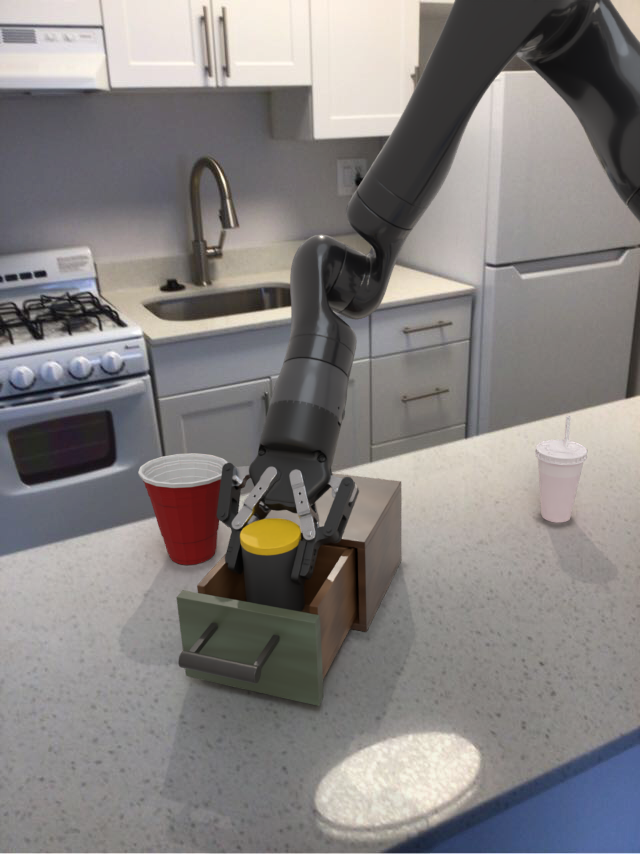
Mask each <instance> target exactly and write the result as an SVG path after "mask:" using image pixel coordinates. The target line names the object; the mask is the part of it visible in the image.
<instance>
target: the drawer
mask: <svg viewBox="0 0 640 854" xmlns="http://www.w3.org/2000/svg"><path fill="white" fill-rule="evenodd" d="M301 541H303V540H301ZM225 555H226V553H225V554H224V555H223V556H222V557H221V558H220V559H219V561H217V563H216V564H215V565H213V567H212V568H211V570H210V571H208V573H206V575H205V576H204V577H203V578H202V579H201V580H200V582H199V583H198V584H197V585H196V589H197V591H189V590H184V589H182V591H181V592H179V593H178V595H177V596H176V604H177V605H176V606H177V613H178V621H179V630H180V637H181V645H182V651H181V652H180V653H179V657H178V663H177V664H178V667H179V668H181V669H184V670H185V676H186V677H188V678H193V679H197V680H202V681H206V682H209V683H215V684H219V685H224V686H228V687H233V688H237V689H241V690H246V691H250V692H255V693H259V694H264V695H269V696H273V697H277V698H282V699H287V700H291V701H295V702H298V703H299V702H300V703H304V704H308V705H313V706H317V707H319V706H320V705H321V704H322V702H323V699H324V679H325V677H326V675H327V673H328V671H329V670H330V668H331V665H332V663H333V661H335V658H336V656H337V654H338V653H339V650H340V649H341V646H342V645H343V642H344V641H345V639H346V637H347V635H348V633H349V631H350V630H351V629H350V627H351V626H352V624H353V622H354V620H355V618H356V616H357V604H356V562H355V548H354V547H348V546H341V545H334V544H328V543H325V544H323V545H321V546H320V547H319V549H318V553H317V557H316V562H315V566H314V571H313V575H312V577H311V578H310V580H307V579H306V580H305V584H304V597H305V606H304V608H303V610H302V611H301V612H299V611H294V610H289V609H283V608H278V607H272V606H267V605H261V604H256V603H250V602H246V591H245V580H244V570H243V573H242V574H235V573H233V572H231V571H230V570H228V564H226V563H225Z"/></svg>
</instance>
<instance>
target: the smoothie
mask: <svg viewBox="0 0 640 854" xmlns="http://www.w3.org/2000/svg"><path fill="white" fill-rule="evenodd" d="M571 418H572V416H571V415H566V416H565V427H564V428H565V429H564V436H563V439H547V440H542V441H540V442H538V444H536V446H535V451H534V455H535V458H537V469H538V483H539V498H540V500H539V501H540V512H541V513H540V514H541V517H542V518H543V519H544V520H546V521H548V522H551V523H557V524H561V523H565V522H568V521H570V520H571V517H572V514H573V509H574V504H575V500H576V496H577V491H578V487H579V483H580V480H581V476H582V473H583V471H582V470H583V468H584V467H583V466H584V463H585V462H586V461H587V460H588V448H587V447H586V446H584V445H583V444H581V443H579V442H576V441H573V440H570V431H571Z"/></svg>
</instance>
